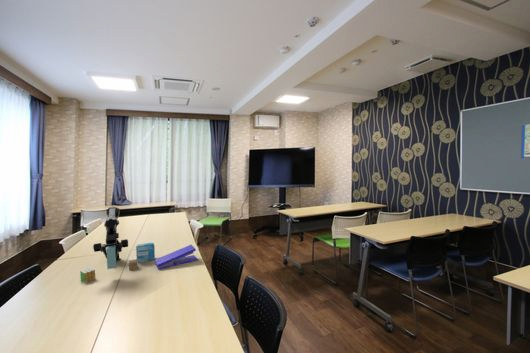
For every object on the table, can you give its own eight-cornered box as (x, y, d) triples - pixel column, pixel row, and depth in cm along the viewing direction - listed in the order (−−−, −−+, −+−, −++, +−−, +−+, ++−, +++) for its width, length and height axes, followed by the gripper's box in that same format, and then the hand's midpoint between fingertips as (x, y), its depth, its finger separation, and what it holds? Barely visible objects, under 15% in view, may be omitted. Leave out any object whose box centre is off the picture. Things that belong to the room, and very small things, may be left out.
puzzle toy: (84, 282, 147) (84, 273, 146) (80, 280, 150) (80, 271, 149) (95, 278, 152) (94, 269, 151) (91, 276, 155) (90, 267, 154)
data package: (136, 262, 175) (136, 246, 175) (136, 260, 179) (136, 244, 179) (154, 259, 181) (154, 243, 181) (154, 257, 185) (153, 242, 185)
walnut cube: (129, 267, 167) (128, 260, 167) (137, 266, 170) (137, 259, 170) (129, 270, 163) (129, 263, 163) (137, 268, 166) (137, 261, 165)
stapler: (198, 261, 178) (198, 247, 178) (157, 270, 163) (157, 256, 162) (193, 256, 188) (193, 243, 187) (154, 264, 172) (154, 251, 172)
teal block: (107, 266, 153) (106, 246, 152) (116, 265, 155) (115, 245, 154) (107, 269, 149) (106, 248, 148) (115, 267, 151) (115, 247, 150)
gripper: (92, 231, 149) (91, 254, 141) (127, 227, 159) (128, 248, 150) (94, 240, 157) (93, 262, 148) (127, 235, 166) (128, 256, 157)
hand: (111, 257), depth 150 cm, fingers closed on teal block, 4 cm apart
